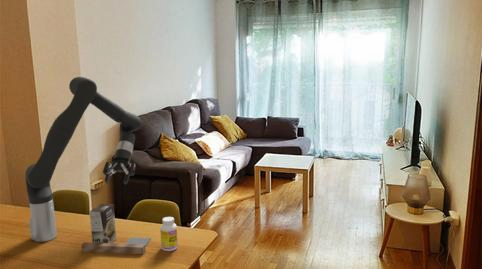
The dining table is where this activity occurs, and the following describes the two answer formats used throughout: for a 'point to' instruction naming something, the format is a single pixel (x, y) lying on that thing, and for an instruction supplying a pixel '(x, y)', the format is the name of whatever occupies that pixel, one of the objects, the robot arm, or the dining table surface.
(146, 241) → the end mat
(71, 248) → the dining table surface
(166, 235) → the supplement bottle
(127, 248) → the walnut fence
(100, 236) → the coffee box
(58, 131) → the robot arm
